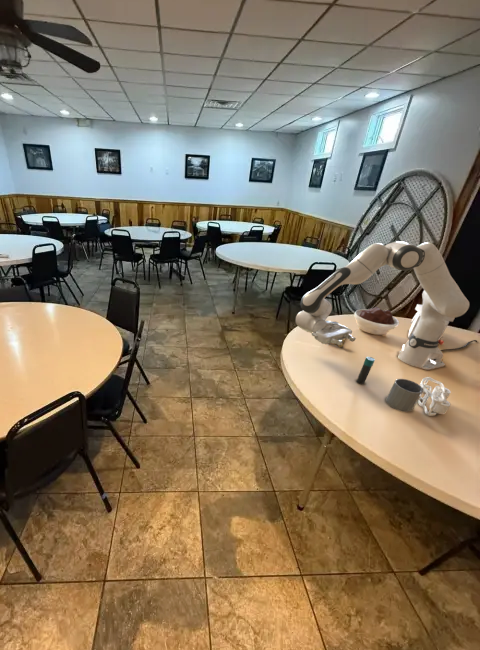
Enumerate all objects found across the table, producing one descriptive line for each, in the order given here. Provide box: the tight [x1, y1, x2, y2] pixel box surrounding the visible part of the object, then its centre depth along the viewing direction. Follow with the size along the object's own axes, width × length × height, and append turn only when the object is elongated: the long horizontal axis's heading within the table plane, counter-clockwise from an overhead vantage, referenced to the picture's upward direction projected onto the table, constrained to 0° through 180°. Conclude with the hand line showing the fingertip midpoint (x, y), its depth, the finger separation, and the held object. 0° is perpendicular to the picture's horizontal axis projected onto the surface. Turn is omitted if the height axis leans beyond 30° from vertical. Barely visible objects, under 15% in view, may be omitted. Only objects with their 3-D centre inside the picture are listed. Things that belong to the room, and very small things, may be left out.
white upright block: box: [407, 303, 456, 340], centre depth 193 cm, size 19×30×18 cm, turn 147°
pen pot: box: [385, 378, 424, 413], centre depth 129 cm, size 10×10×10 cm
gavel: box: [331, 339, 346, 348], centre depth 181 cm, size 21×5×10 cm
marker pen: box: [356, 356, 376, 385], centre depth 140 cm, size 4×4×12 cm
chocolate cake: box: [353, 306, 400, 336], centre depth 193 cm, size 25×25×15 cm
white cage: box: [417, 376, 452, 417], centre depth 131 cm, size 20×11×7 cm, turn 144°
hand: (347, 341), depth 144 cm, fingers open, 8 cm apart
